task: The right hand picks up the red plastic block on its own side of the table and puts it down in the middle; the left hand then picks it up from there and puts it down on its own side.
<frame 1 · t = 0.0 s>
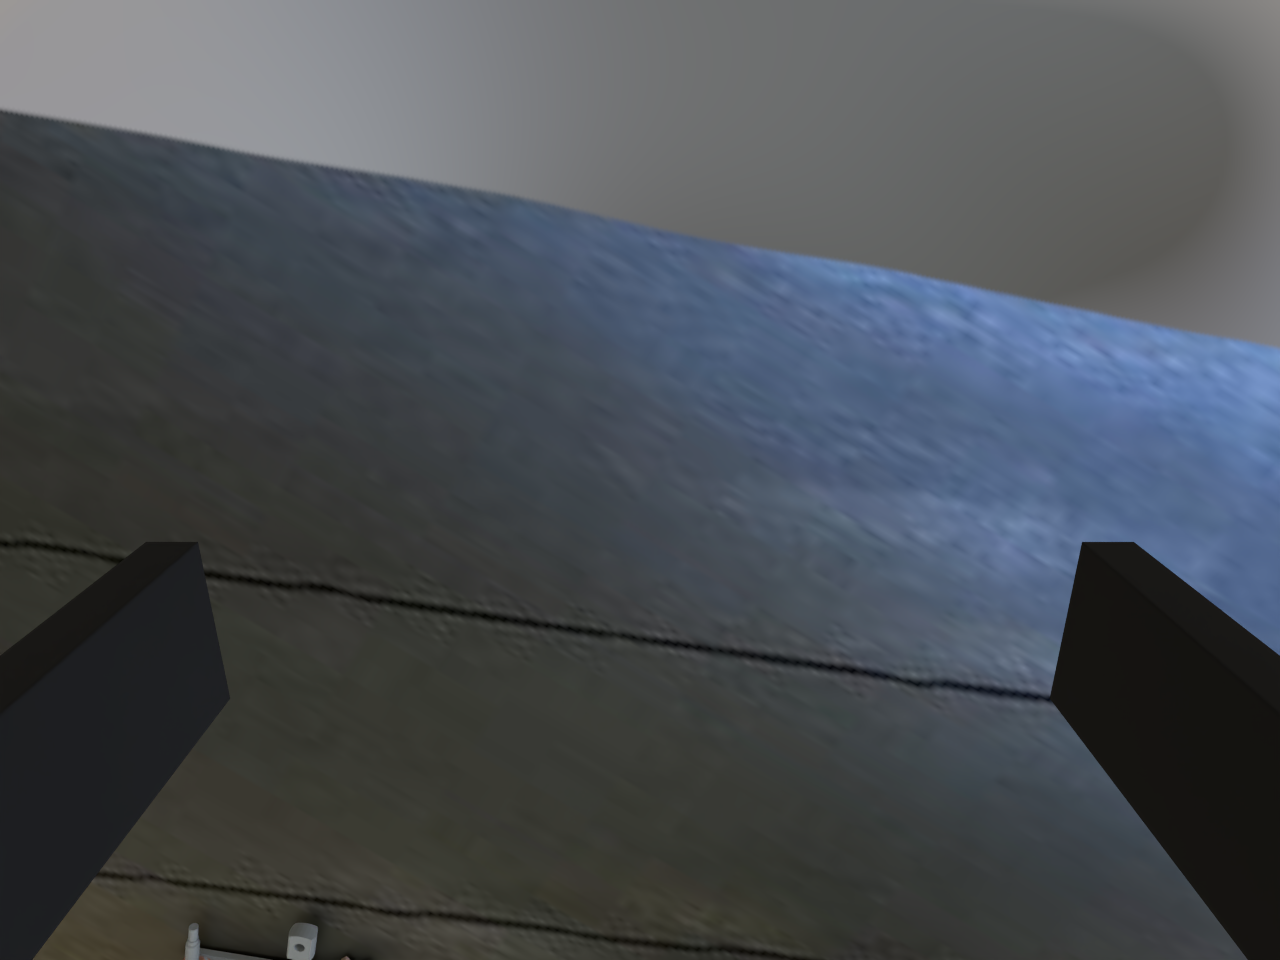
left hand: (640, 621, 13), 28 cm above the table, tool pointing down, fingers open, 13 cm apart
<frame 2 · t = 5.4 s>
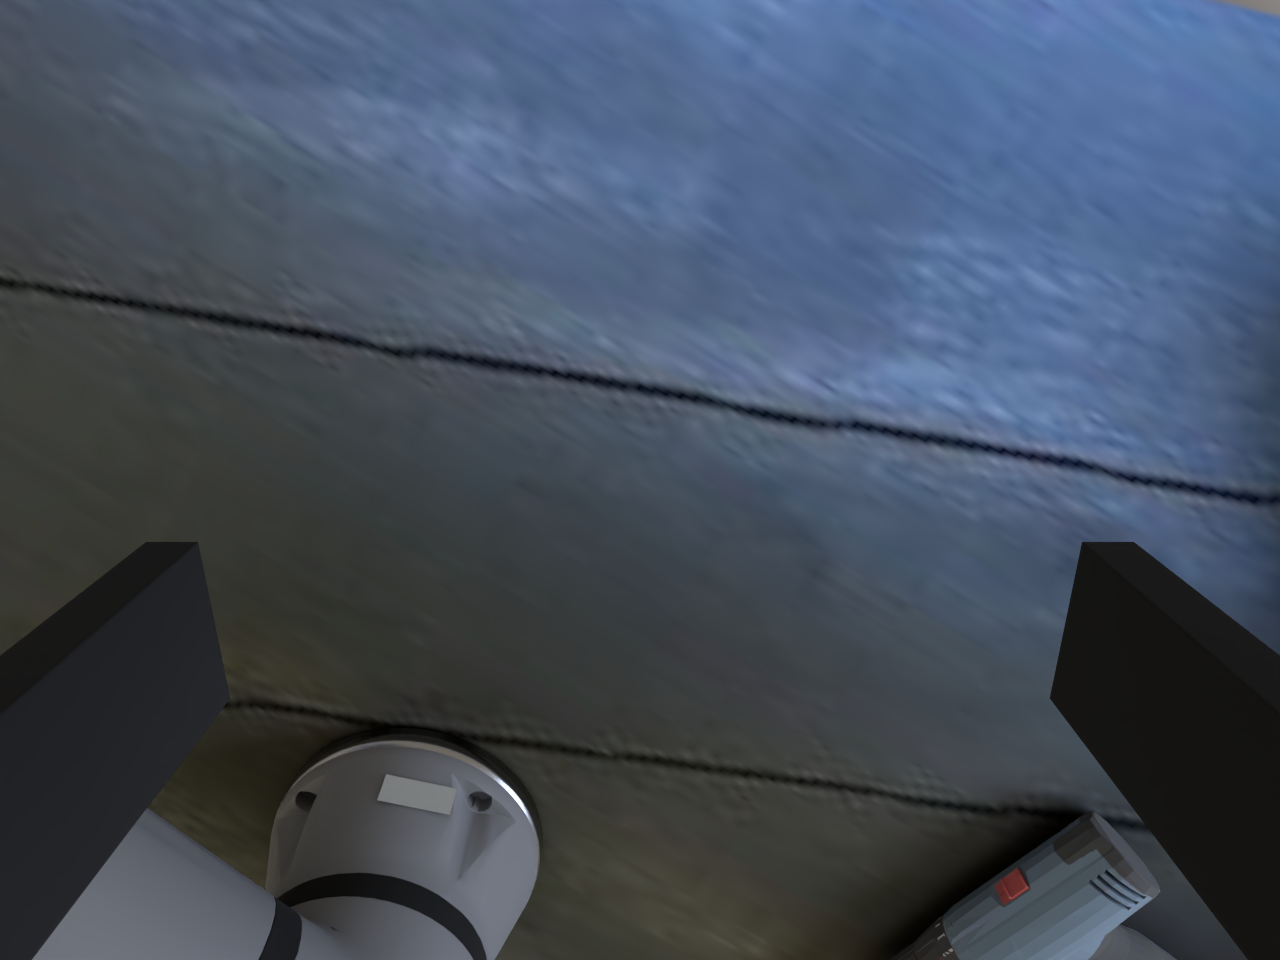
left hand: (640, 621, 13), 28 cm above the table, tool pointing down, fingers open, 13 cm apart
power drill: (1045, 959, 54), on the table
when the right hand's fingers open (3 cm above the table, at t = 13.9 s): block drops 2 cm, on the table.
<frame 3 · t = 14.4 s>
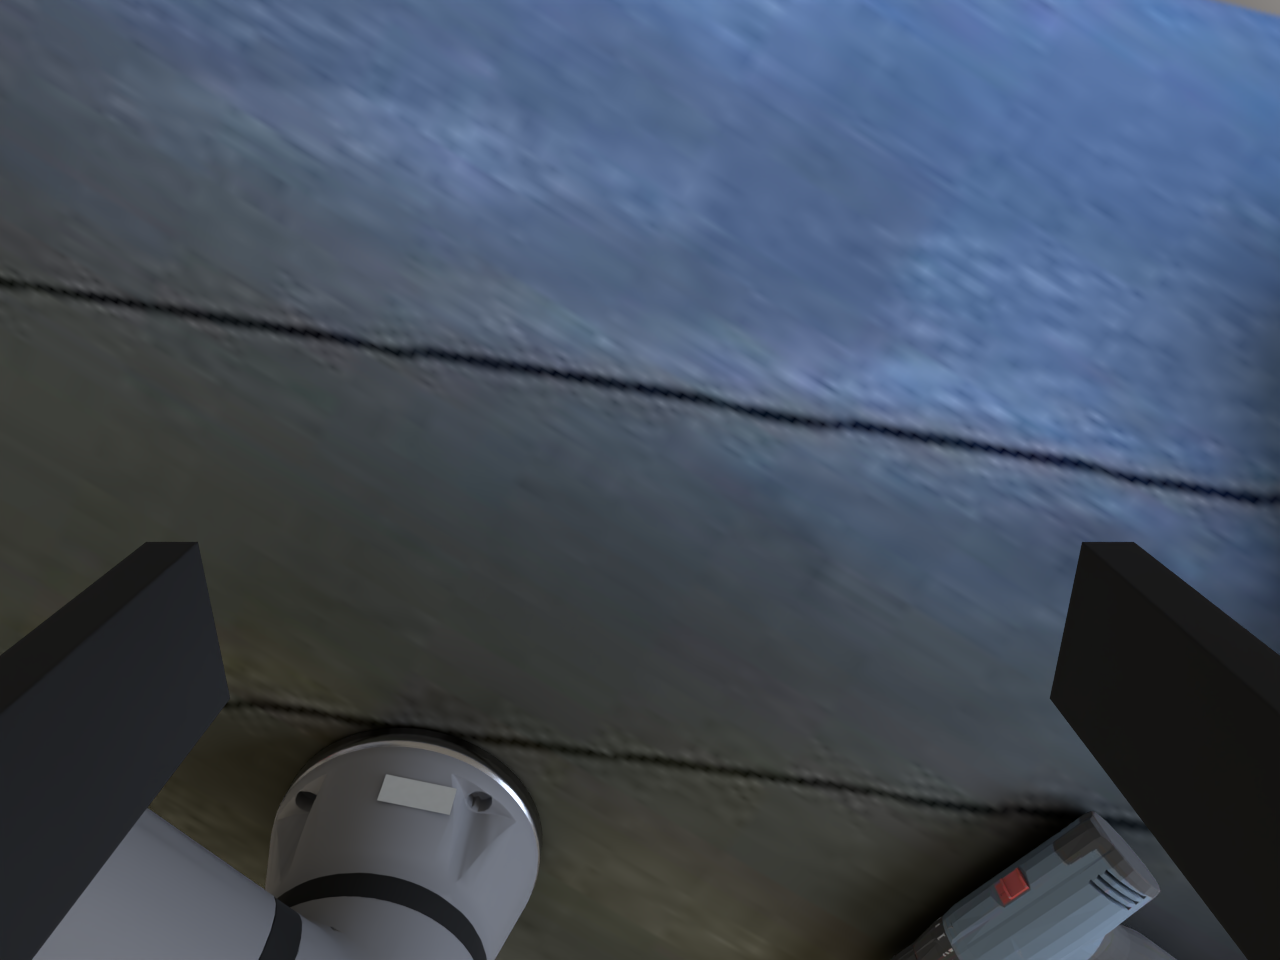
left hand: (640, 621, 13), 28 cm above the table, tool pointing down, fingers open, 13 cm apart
power drill: (1045, 959, 54), on the table
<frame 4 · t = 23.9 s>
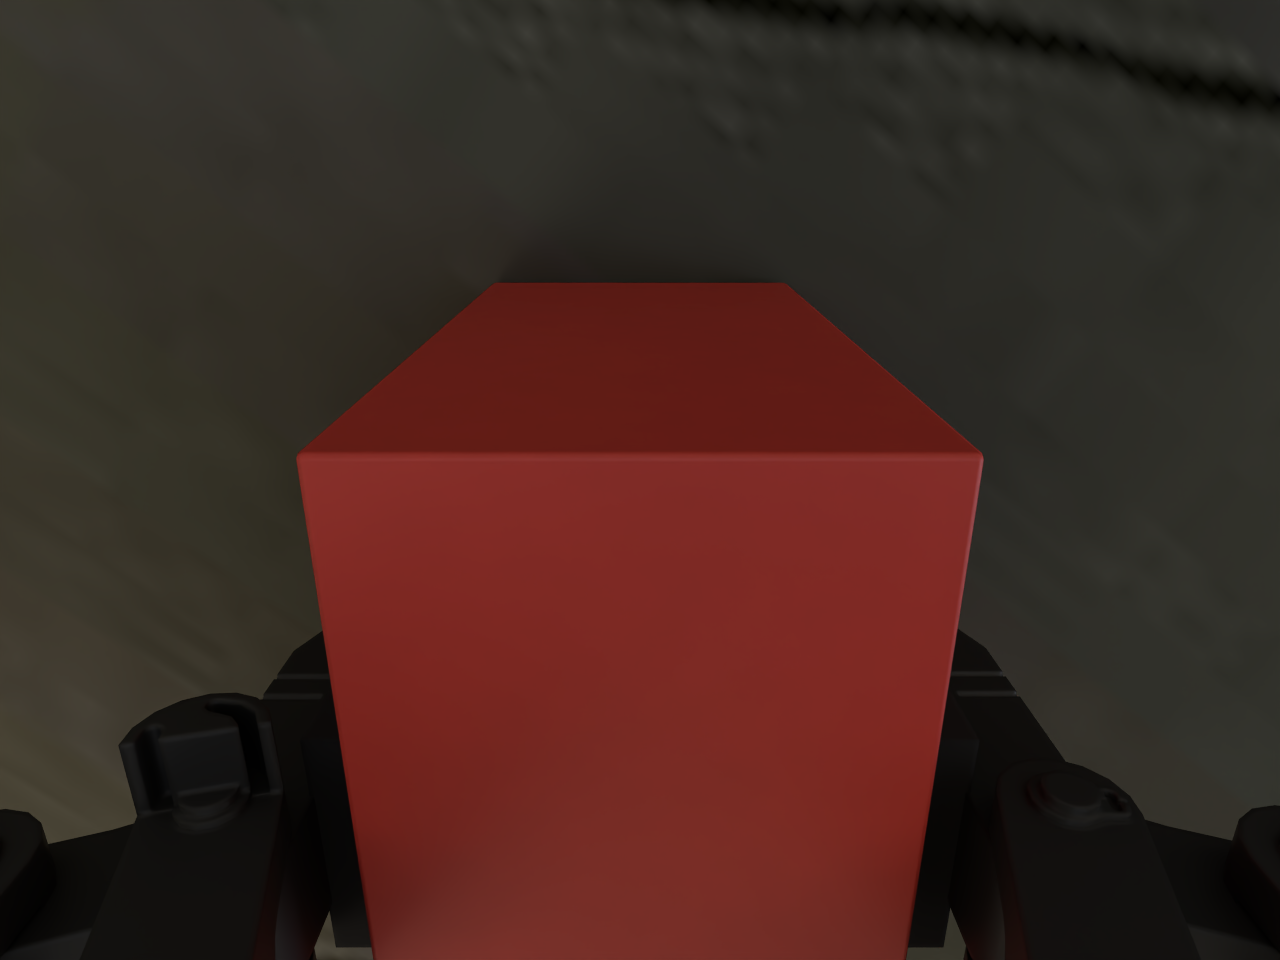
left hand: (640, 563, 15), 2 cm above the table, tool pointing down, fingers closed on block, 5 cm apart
block: (639, 525, 16), on the table, touching left hand
when the left hand's fingers open (3 cm above the table, at t = 33.8 s): block drops 2 cm, on the table.
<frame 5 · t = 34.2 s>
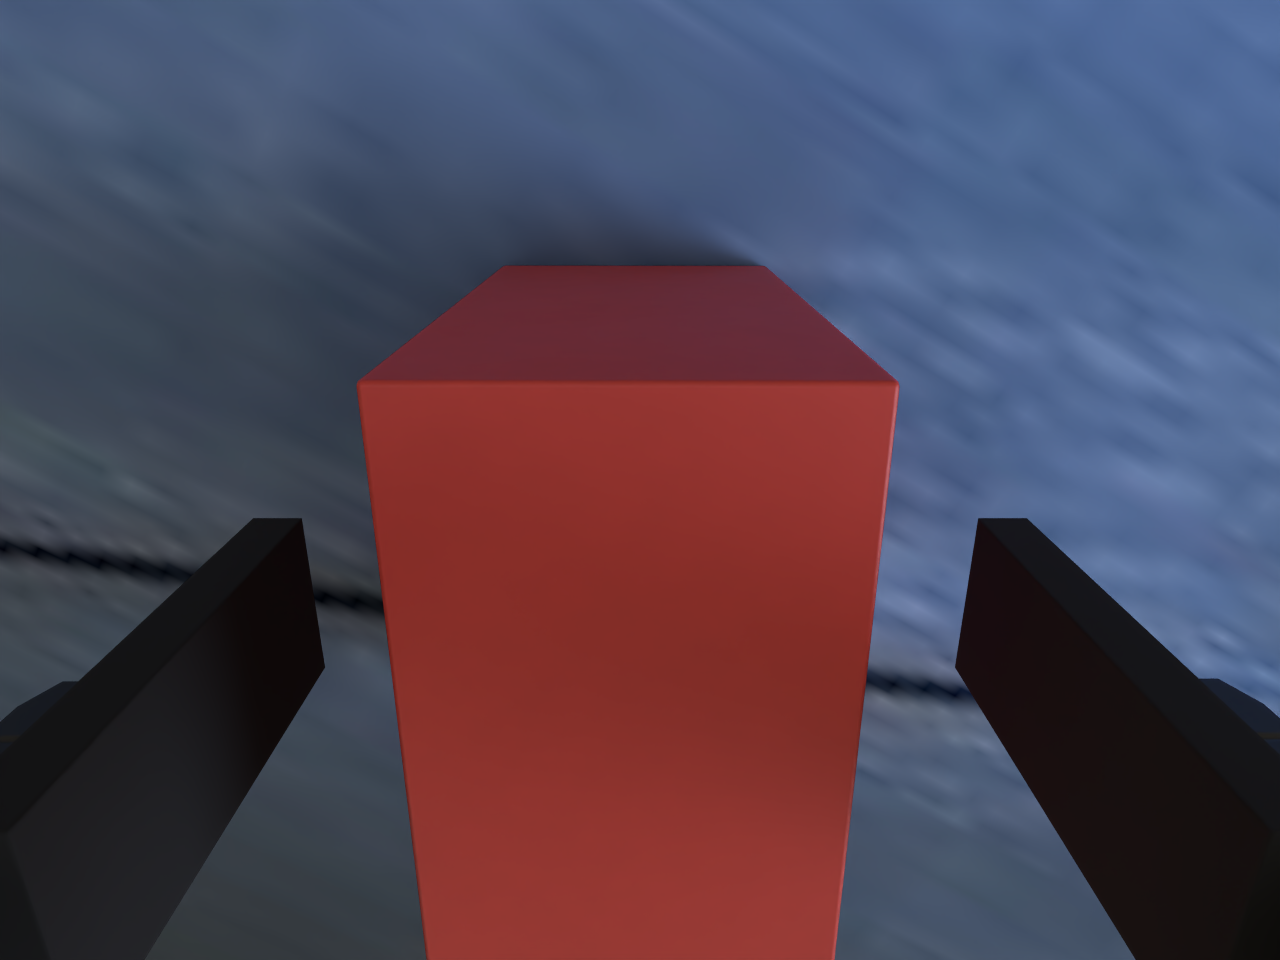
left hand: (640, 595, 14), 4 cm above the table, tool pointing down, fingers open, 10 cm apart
block: (634, 487, 18), on the table
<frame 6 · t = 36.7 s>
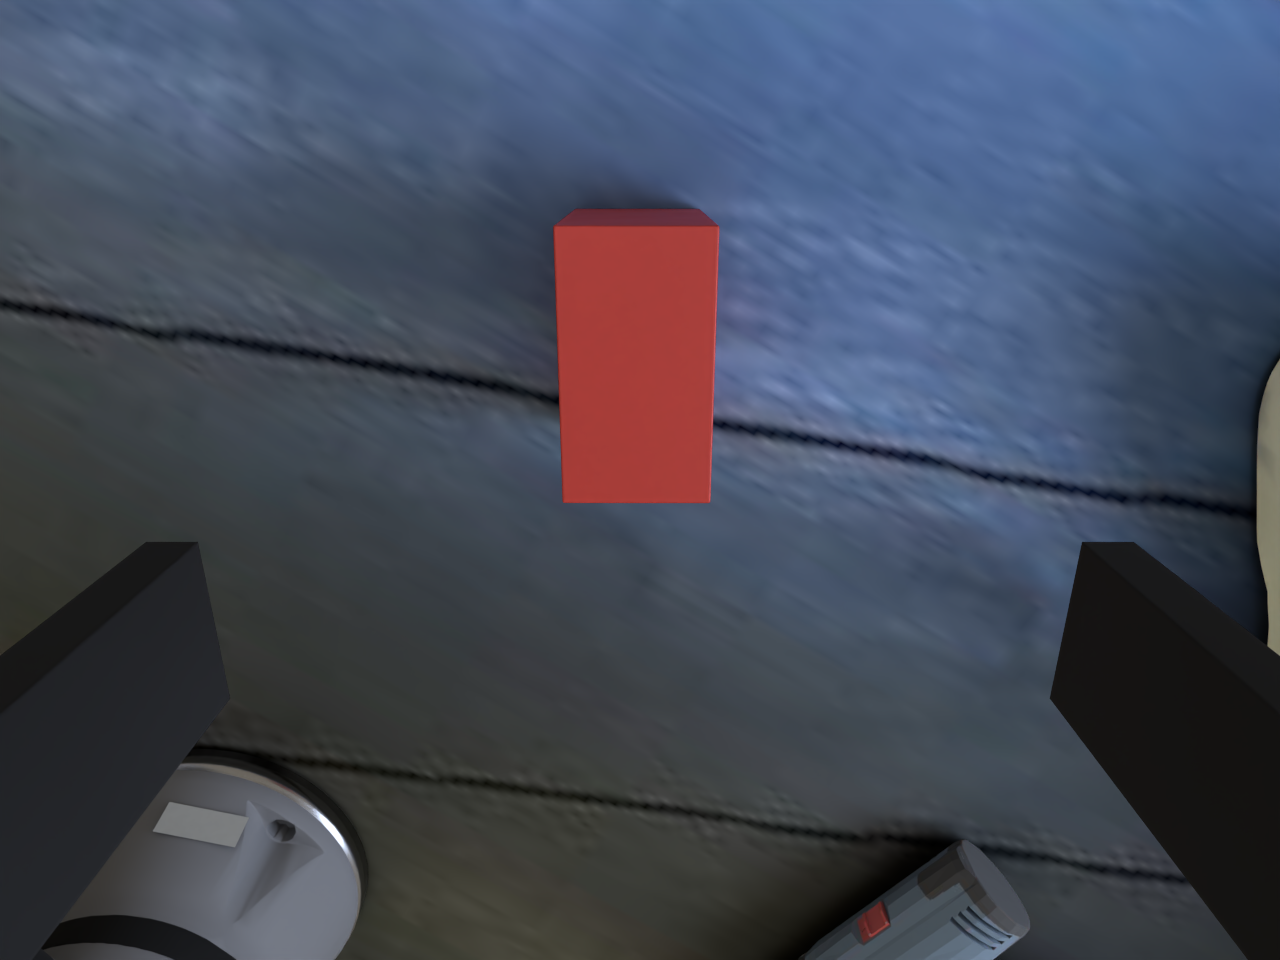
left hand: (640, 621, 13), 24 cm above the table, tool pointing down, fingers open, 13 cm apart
block: (637, 322, 35), on the table
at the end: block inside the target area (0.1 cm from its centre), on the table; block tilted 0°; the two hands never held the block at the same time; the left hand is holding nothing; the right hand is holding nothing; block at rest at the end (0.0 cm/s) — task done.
